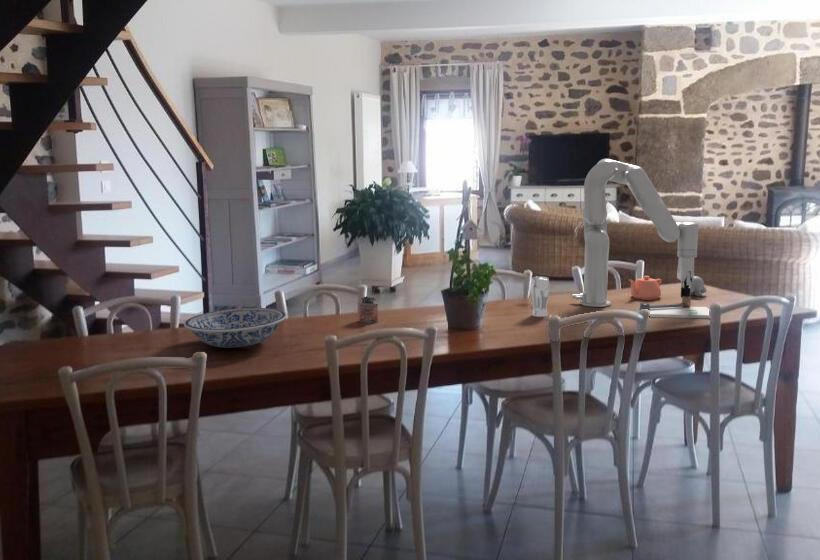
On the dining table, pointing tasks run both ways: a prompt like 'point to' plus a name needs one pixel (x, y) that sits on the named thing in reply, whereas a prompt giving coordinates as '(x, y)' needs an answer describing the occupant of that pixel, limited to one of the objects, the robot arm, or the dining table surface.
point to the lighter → (368, 310)
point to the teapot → (646, 288)
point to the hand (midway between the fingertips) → (685, 297)
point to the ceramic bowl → (236, 326)
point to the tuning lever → (685, 303)
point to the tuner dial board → (680, 312)
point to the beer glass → (540, 296)
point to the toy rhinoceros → (697, 286)
